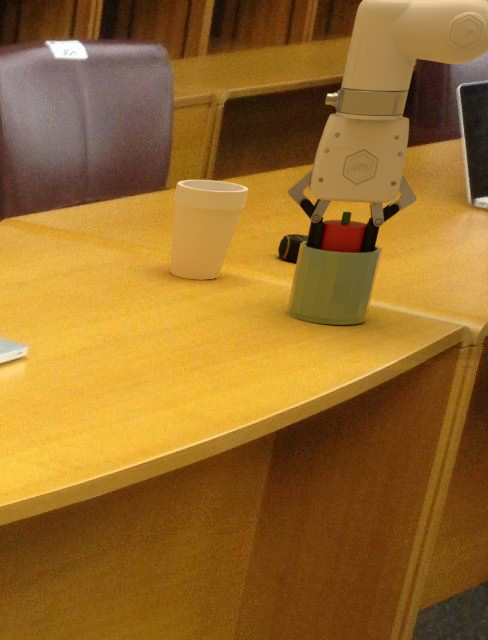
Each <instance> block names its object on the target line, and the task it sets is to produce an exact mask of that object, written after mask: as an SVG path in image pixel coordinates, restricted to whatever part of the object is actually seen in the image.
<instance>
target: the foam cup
mask: <svg viewBox="0 0 488 640" xmlns="http://www.w3.org/2000/svg"><path fill="white" fill-rule="evenodd" d="M175 187H176V188H175V191H174V196H173V201H174V209H173V210H174V213H173V226H172V241H171V253H170V254H171V255H170V269H169V273H170V272H171V273H172V274H173V275H172V274H171V273H170V274H171V275H172V276H174V275H175V276H174V277H177V276H179V277H184V278H189V279H188V280H190V279H212V278H213V279H214V278H216V279H218V278H219V275H220V273H221V270H222V267H223V265H224V262H225V259H226V256H227V253H228V250H229V248H230V244H231V242H232V239H233V237H234V234H235V231H236V228H237V226H238V223H239V220H240V217H241V214H242V211H243V209H244V208H245V206H246V203H247V198H248V194H249V187H247V186H245V185H243V184H239V183H236V182H235V183H234V182H228V181H221V180H212V179H186V180H180V181H178V182H177V183H176V186H175ZM179 277H178V278H179ZM184 278H183V279H184ZM214 280H215V279H214Z"/></svg>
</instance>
